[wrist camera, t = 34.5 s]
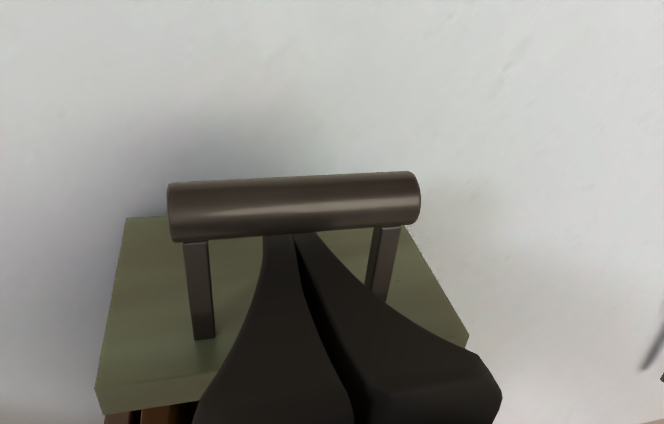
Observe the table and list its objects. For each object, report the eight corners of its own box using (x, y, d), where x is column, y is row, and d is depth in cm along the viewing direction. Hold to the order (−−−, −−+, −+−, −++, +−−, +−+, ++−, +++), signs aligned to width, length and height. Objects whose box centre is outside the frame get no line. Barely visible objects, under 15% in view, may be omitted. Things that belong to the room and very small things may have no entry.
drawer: (100, 89, 15) (40, 232, 9) (411, 88, 17) (521, 199, 11) (169, 433, 26) (163, 595, 20) (352, 402, 28) (393, 539, 22)
